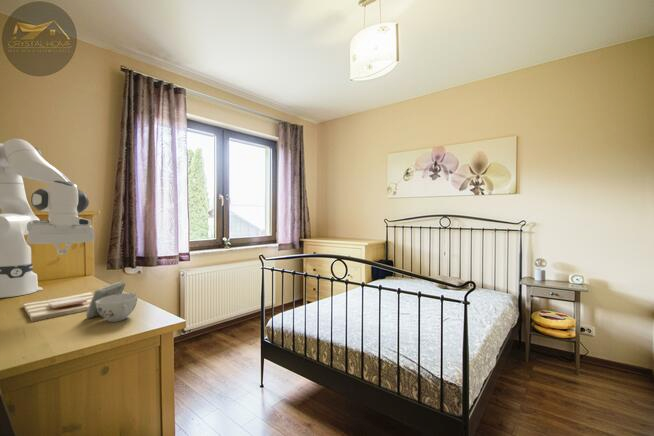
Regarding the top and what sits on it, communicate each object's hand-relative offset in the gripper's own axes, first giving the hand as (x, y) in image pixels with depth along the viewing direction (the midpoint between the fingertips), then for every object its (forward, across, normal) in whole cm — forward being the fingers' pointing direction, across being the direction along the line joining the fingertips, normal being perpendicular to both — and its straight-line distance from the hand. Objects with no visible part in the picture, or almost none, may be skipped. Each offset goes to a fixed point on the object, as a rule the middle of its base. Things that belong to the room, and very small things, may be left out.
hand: (62, 253), depth 118 cm
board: (+22, +2, +1) cm, 22 cm away
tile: (+19, +2, -4) cm, 19 cm away
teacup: (+21, +11, -34) cm, 42 cm away
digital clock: (+22, +11, -20) cm, 32 cm away
